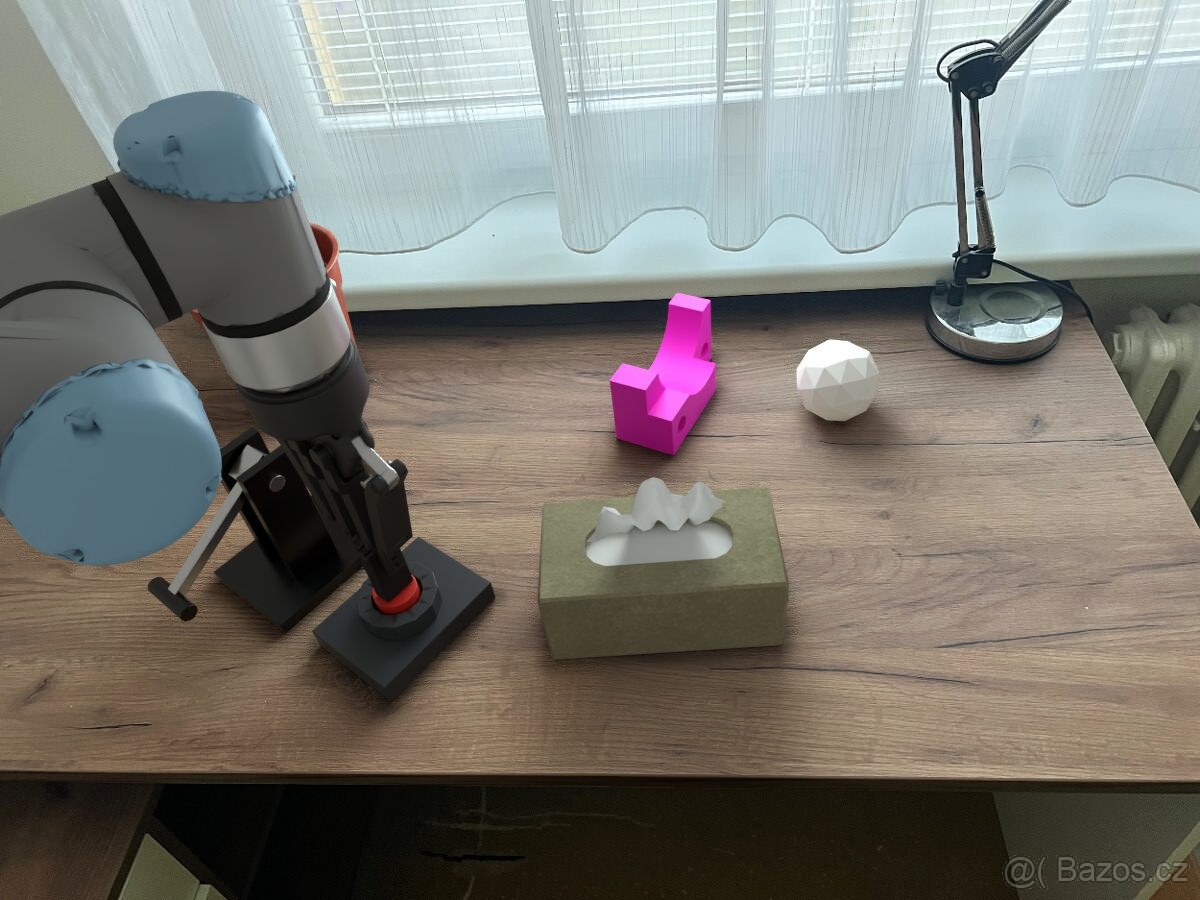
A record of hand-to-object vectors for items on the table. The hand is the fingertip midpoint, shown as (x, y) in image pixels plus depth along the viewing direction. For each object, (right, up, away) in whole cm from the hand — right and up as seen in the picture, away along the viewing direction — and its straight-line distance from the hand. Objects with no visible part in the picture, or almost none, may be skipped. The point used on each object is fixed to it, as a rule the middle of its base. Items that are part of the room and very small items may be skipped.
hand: (394, 586), depth 70 cm
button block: (0, -3, +3) cm, 5 cm away
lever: (-14, +4, +1) cm, 15 cm away
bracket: (-10, +1, +9) cm, 14 cm away
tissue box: (+22, -2, +2) cm, 22 cm away
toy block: (+24, +16, +20) cm, 35 cm away
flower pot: (-16, +18, +28) cm, 37 cm away
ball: (+40, +15, +17) cm, 45 cm away
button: (0, -1, +1) cm, 2 cm away
